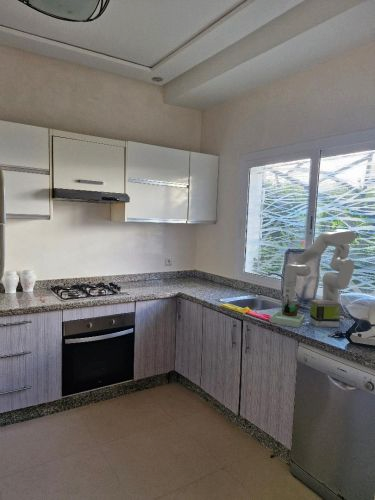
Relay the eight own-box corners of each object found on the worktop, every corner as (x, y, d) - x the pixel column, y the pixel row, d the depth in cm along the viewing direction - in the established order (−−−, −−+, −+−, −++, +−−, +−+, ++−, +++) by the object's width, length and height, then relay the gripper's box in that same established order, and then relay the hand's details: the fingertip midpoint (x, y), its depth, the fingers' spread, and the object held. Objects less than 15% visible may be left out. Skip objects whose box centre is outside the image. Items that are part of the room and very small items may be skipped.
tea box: (332, 322, 225) (334, 300, 224) (339, 327, 215) (341, 304, 214) (309, 321, 224) (310, 299, 223) (315, 326, 214) (317, 303, 213)
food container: (276, 313, 223) (277, 298, 223) (281, 312, 228) (282, 297, 227) (294, 318, 215) (295, 302, 214) (298, 316, 219) (300, 300, 218)
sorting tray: (304, 320, 226) (304, 315, 226) (298, 327, 210) (299, 322, 210) (276, 316, 235) (277, 310, 234) (269, 322, 219) (269, 316, 219)
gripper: (293, 286, 211) (290, 315, 213) (298, 282, 226) (296, 309, 228) (280, 284, 215) (278, 313, 216) (287, 281, 230) (284, 308, 231)
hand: (287, 311), depth 222 cm, fingers closed on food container, 5 cm apart
